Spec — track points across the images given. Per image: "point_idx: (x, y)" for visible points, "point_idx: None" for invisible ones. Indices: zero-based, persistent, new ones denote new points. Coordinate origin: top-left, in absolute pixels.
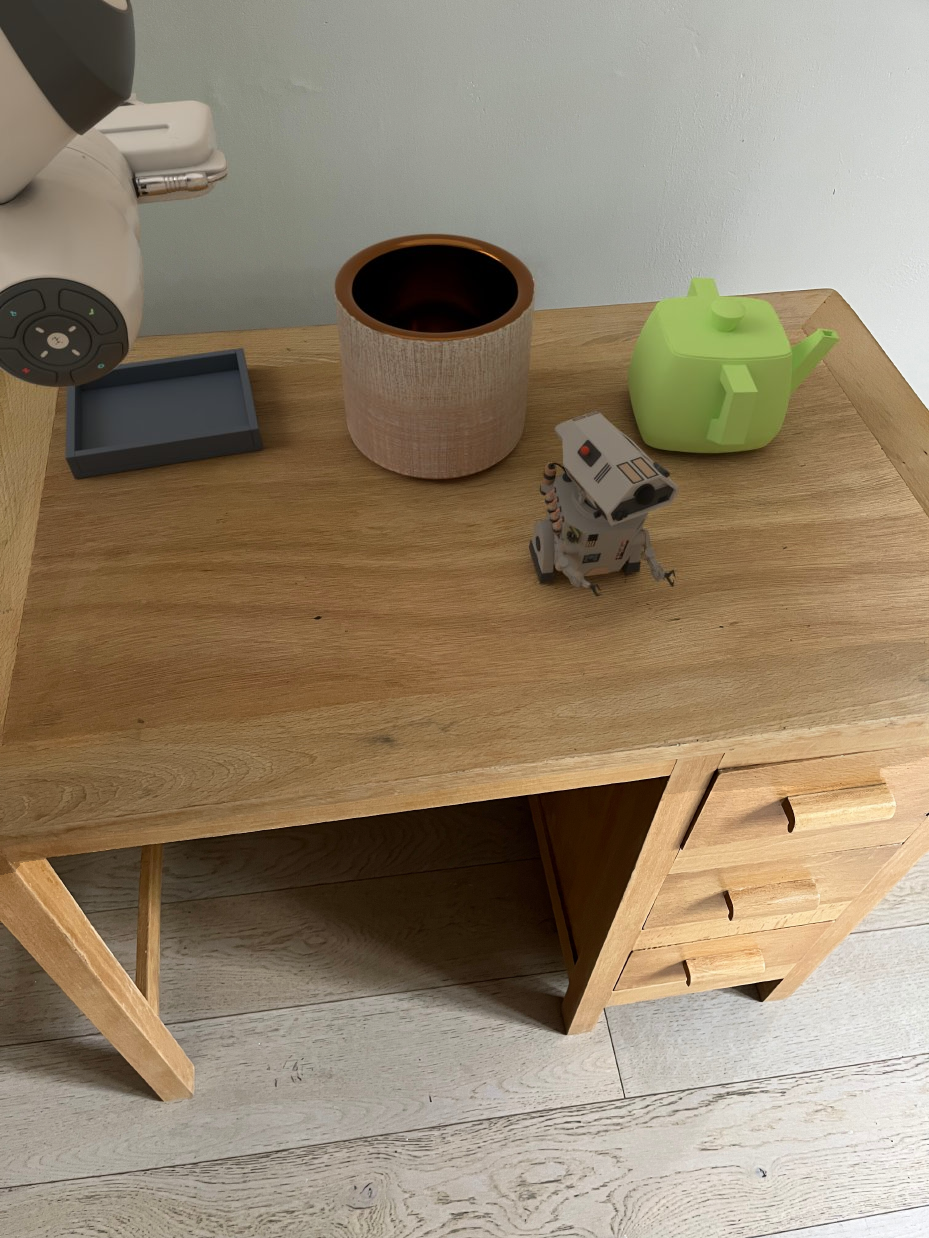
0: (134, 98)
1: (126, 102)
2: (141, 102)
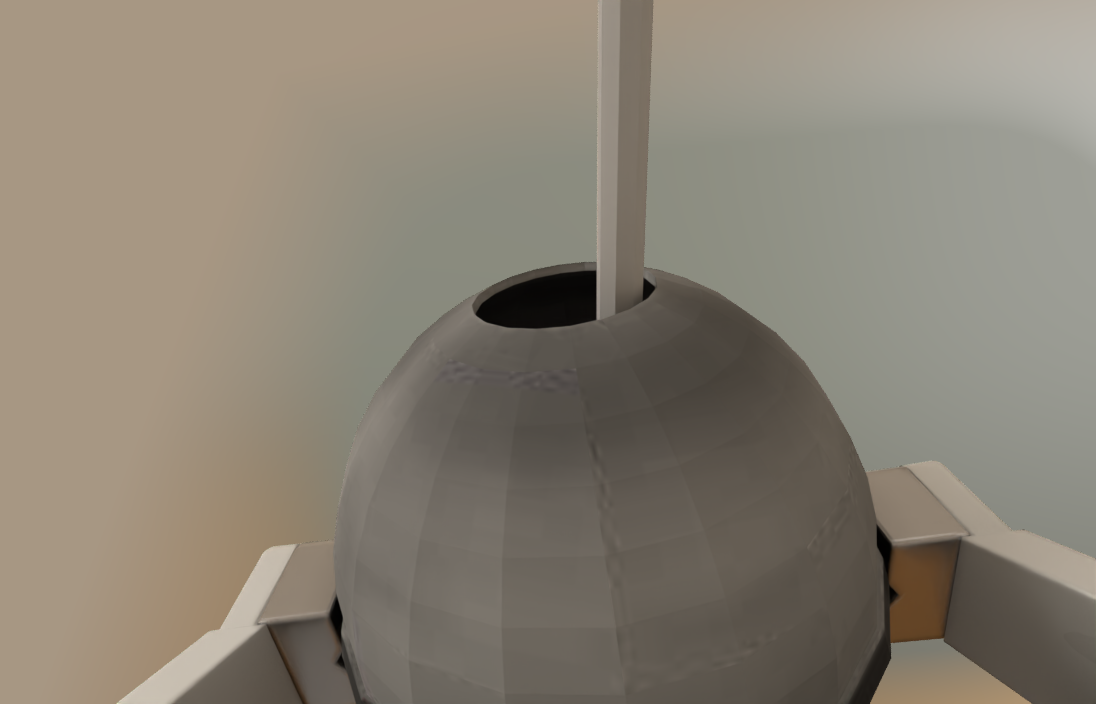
0: (982, 508)
1: (955, 540)
2: (1086, 557)
